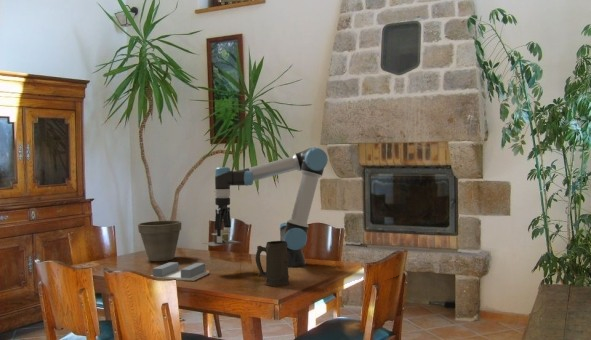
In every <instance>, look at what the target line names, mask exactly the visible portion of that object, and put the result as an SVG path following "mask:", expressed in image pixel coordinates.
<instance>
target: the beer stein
mask: <svg viewBox="0 0 591 340" xmlns="http://www.w3.org/2000/svg"><path fill="white" fill-rule="evenodd" d="M287 246H288V245H287V242H286V241H280V240H272V241H267V242H266V245H265V247H264V246H262V245H257V246H256V248H257V249H256V252H255V264H256V266H257V268H258V271H259V272H258V278H262V277H265V279H266V282H265V283H266V285H267V286H269V285H270V287H284V285H285V286H288V285H289V284H290V276H289V267H288V260H287ZM262 252H265V254H266V256H265V257H266V258H265V260H266V261H265V271H264V269H263V266H262V263H261V254H262Z"/></svg>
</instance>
